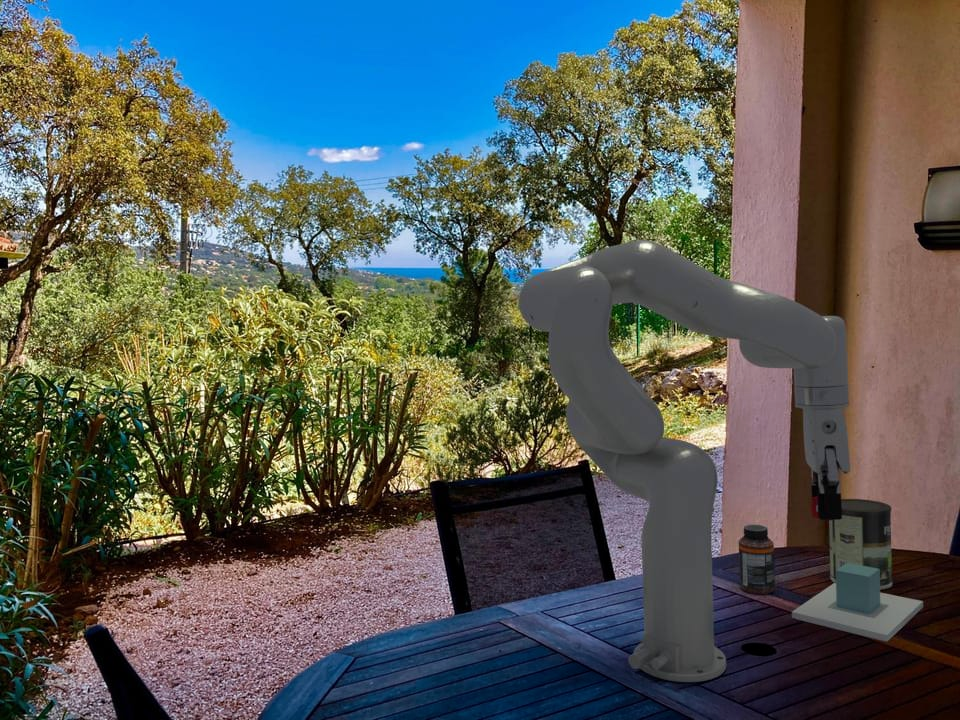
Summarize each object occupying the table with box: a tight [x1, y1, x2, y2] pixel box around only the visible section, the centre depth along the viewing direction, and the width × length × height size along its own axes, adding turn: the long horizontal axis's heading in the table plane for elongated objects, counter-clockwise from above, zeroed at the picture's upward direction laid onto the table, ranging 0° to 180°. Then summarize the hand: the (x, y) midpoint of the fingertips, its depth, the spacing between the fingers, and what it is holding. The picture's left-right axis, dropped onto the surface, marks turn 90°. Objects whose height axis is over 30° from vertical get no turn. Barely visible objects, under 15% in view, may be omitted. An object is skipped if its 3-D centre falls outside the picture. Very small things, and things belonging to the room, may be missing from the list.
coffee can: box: [828, 498, 893, 591], centre depth 134 cm, size 10×10×14 cm
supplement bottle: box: [738, 524, 776, 595], centre depth 132 cm, size 6×6×11 cm
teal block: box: [836, 563, 881, 614], centre depth 120 cm, size 5×5×6 cm
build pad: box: [791, 582, 924, 643], centre depth 120 cm, size 18×14×1 cm
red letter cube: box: [811, 496, 831, 521], centre depth 113 cm, size 3×3×3 cm
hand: (826, 513), depth 113 cm, fingers closed on red letter cube, 4 cm apart
